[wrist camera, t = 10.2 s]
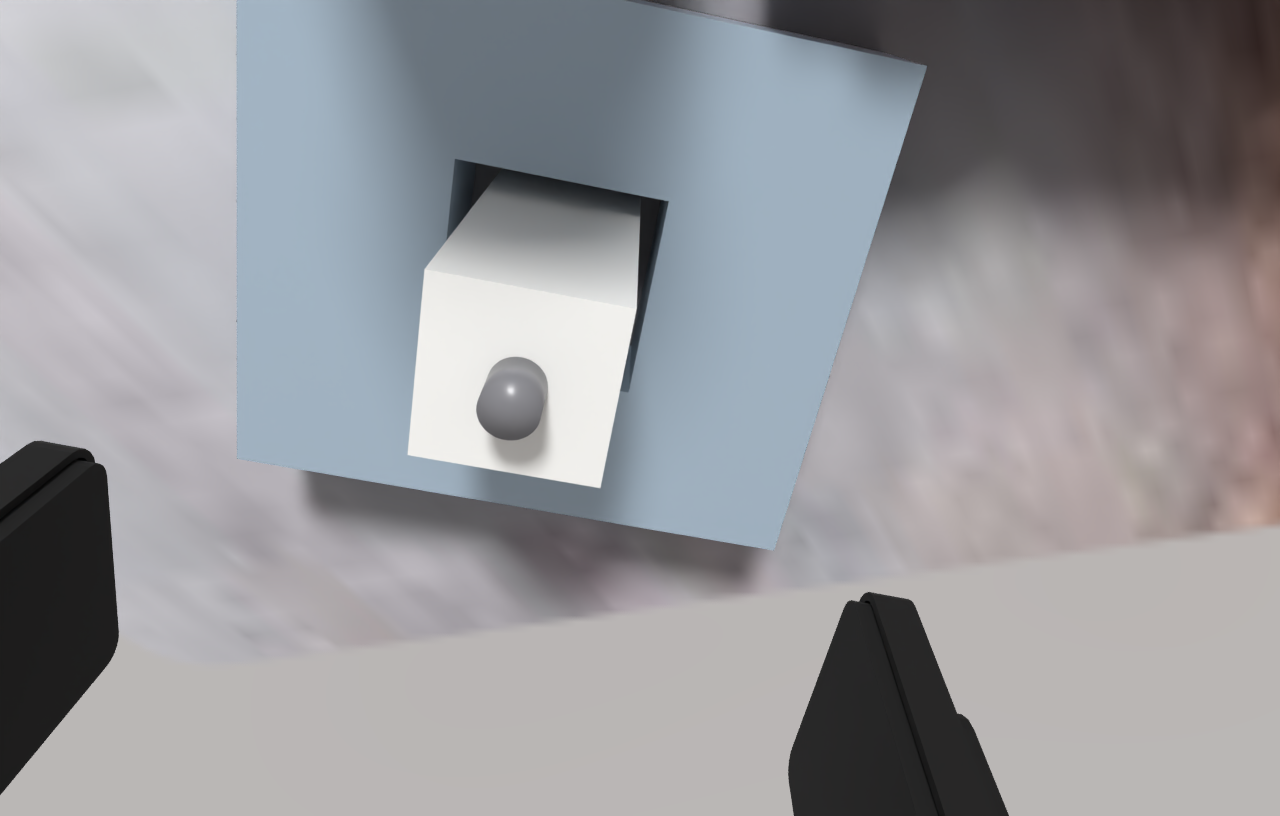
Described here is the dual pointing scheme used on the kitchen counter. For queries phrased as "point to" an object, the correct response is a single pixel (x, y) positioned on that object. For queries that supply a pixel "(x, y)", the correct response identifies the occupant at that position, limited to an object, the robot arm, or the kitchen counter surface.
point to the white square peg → (528, 330)
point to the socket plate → (576, 152)
